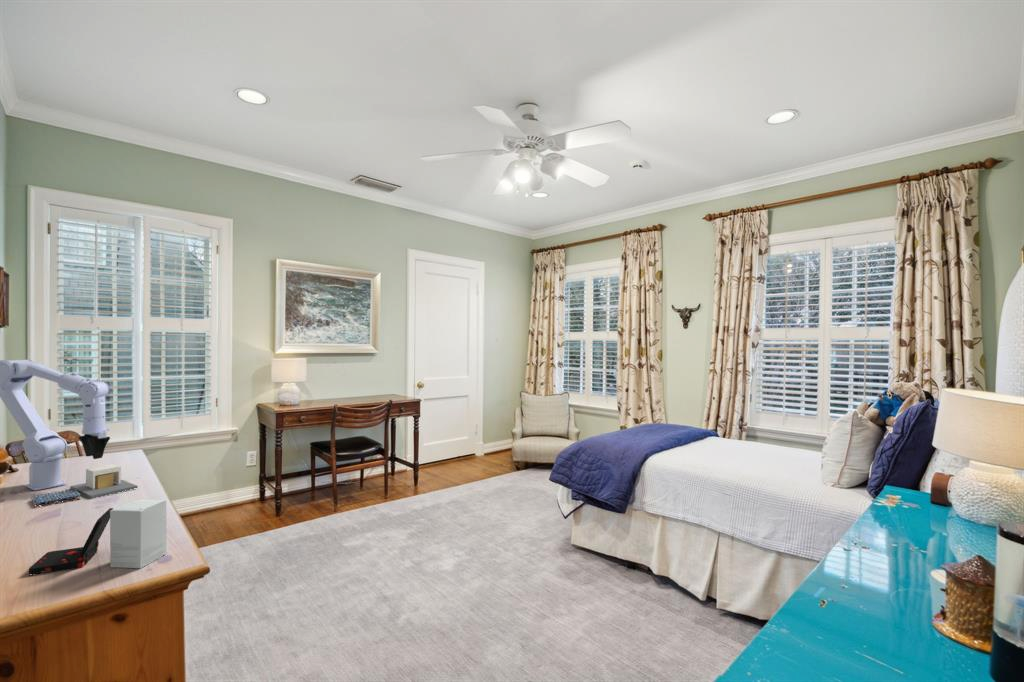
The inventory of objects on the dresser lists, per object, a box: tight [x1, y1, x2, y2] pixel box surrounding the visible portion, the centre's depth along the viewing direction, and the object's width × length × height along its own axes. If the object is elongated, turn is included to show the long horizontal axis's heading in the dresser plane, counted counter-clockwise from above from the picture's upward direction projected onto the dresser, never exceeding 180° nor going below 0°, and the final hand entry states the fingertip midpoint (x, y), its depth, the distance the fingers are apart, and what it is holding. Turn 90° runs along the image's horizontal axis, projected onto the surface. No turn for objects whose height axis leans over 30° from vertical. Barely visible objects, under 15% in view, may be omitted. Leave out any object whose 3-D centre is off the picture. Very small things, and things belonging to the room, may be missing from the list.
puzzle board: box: [69, 479, 138, 500], centre depth 156 cm, size 18×12×1 cm, turn 58°
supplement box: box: [109, 499, 168, 569], centre depth 106 cm, size 7×7×13 cm
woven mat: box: [30, 488, 82, 508], centre depth 146 cm, size 10×11×2 cm
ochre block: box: [95, 473, 113, 489], centre depth 157 cm, size 4×4×5 cm
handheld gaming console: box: [28, 507, 114, 576], centre depth 106 cm, size 9×12×10 cm
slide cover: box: [85, 463, 122, 489], centre depth 157 cm, size 6×7×6 cm
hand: (94, 457), depth 161 cm, fingers open, 6 cm apart
